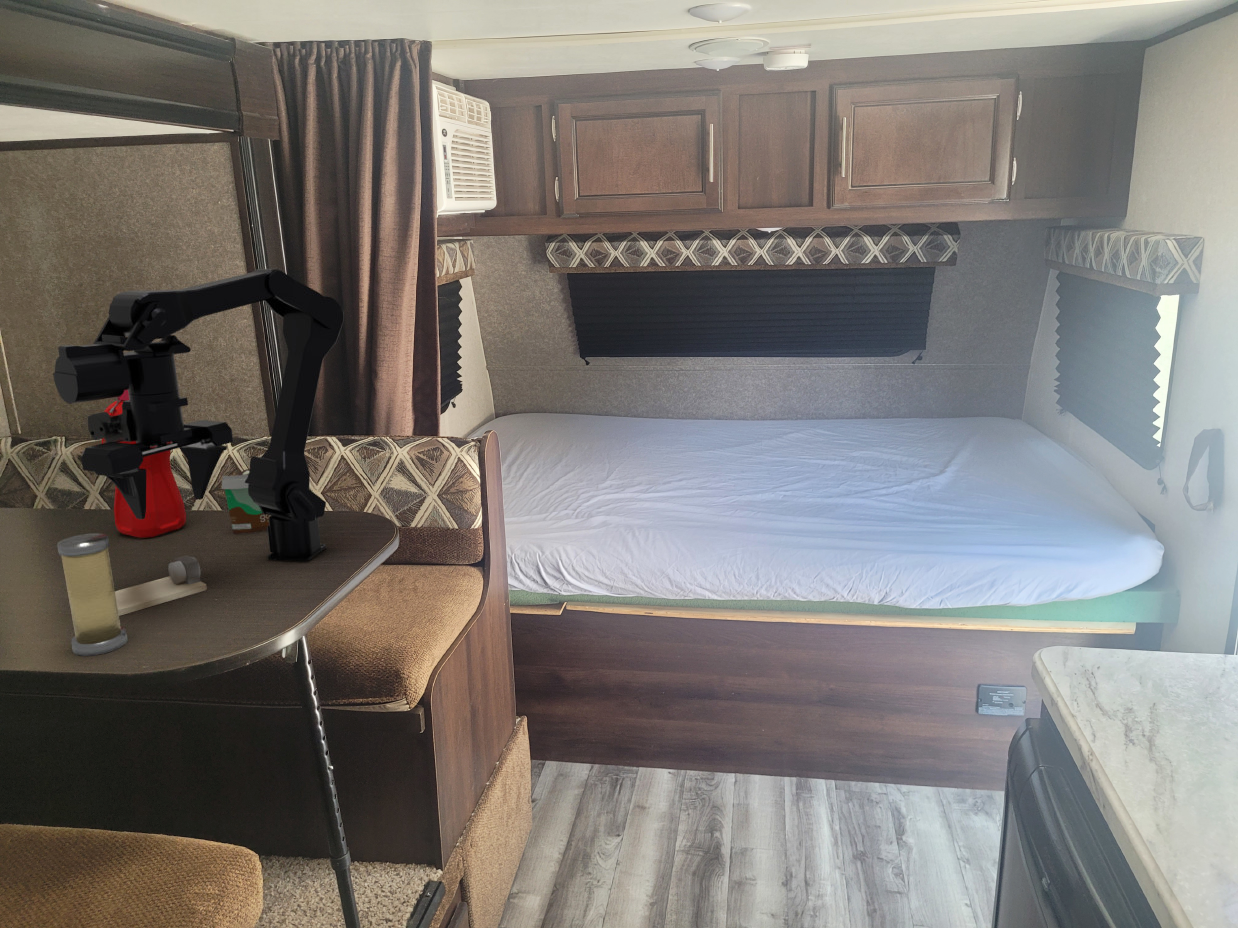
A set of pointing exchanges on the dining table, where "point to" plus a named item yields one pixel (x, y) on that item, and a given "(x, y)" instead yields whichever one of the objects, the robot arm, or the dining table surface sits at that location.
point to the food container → (243, 505)
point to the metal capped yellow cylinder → (91, 595)
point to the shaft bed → (163, 587)
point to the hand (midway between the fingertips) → (170, 508)
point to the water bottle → (150, 493)
